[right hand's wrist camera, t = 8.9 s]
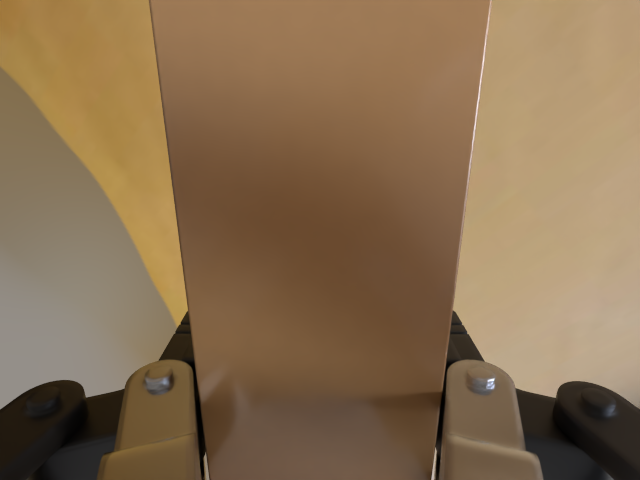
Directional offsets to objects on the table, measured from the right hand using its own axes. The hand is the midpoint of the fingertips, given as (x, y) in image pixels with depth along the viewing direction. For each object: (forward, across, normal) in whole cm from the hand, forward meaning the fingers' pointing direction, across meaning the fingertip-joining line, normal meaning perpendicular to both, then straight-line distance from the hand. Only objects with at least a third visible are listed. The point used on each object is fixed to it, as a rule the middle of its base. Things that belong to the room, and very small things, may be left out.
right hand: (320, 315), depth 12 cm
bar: (+3, 0, -26) cm, 27 cm away
